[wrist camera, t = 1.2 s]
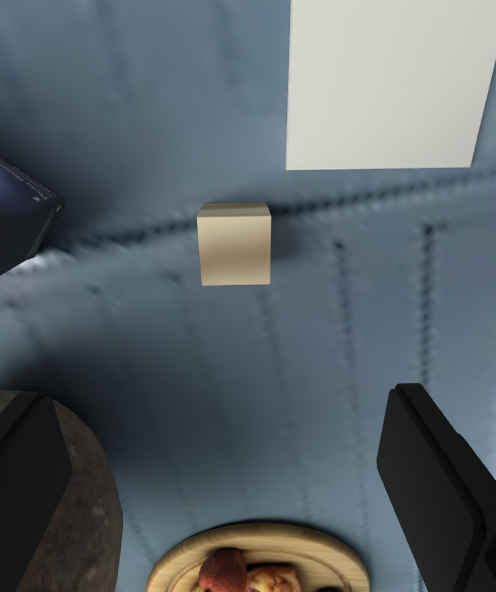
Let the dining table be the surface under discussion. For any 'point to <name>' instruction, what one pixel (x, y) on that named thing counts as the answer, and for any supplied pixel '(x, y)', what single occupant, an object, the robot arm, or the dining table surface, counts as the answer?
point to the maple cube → (234, 243)
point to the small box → (23, 215)
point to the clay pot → (78, 519)
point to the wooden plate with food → (260, 562)
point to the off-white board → (387, 82)
